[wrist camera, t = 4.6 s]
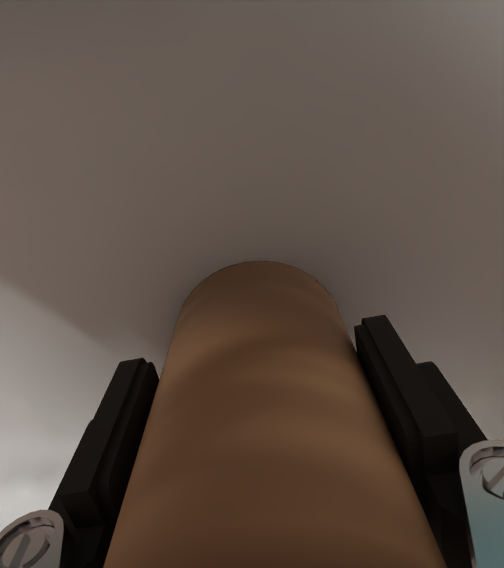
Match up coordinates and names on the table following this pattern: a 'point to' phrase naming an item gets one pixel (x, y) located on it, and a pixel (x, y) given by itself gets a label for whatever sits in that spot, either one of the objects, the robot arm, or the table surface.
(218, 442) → the cylinder
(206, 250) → the table surface
